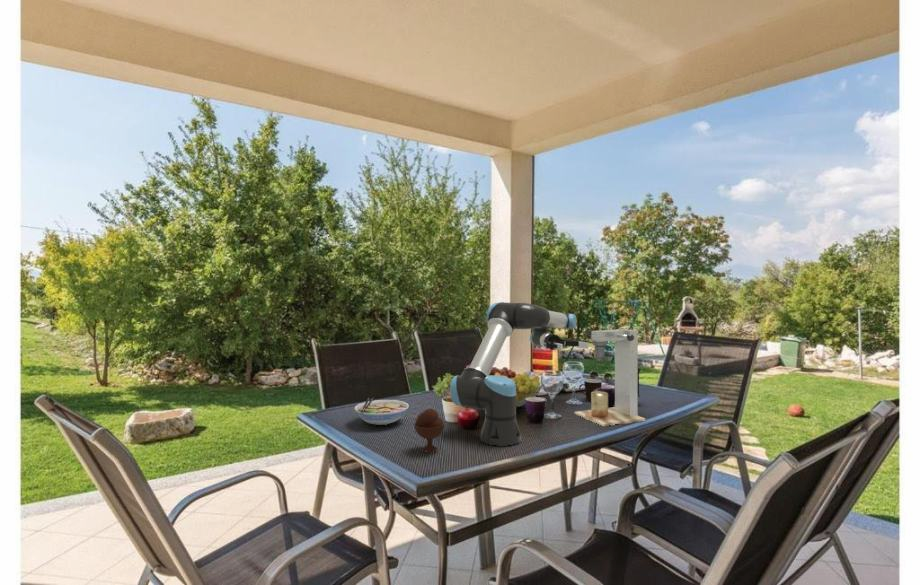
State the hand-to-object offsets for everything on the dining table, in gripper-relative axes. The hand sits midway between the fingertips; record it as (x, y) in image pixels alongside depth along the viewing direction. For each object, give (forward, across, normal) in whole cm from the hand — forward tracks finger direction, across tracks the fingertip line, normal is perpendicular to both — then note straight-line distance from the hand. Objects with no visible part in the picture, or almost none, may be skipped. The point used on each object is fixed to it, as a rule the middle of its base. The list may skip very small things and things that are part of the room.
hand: (574, 346), depth 212 cm
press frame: (+16, -11, -29) cm, 35 cm away
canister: (-2, -32, -30) cm, 44 cm away
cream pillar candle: (+13, -4, -29) cm, 32 cm away
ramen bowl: (-14, +86, -30) cm, 92 cm away
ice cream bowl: (+24, +76, -30) cm, 85 cm away
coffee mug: (-15, -19, -30) cm, 39 cm away
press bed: (+13, -9, -30) cm, 34 cm away
